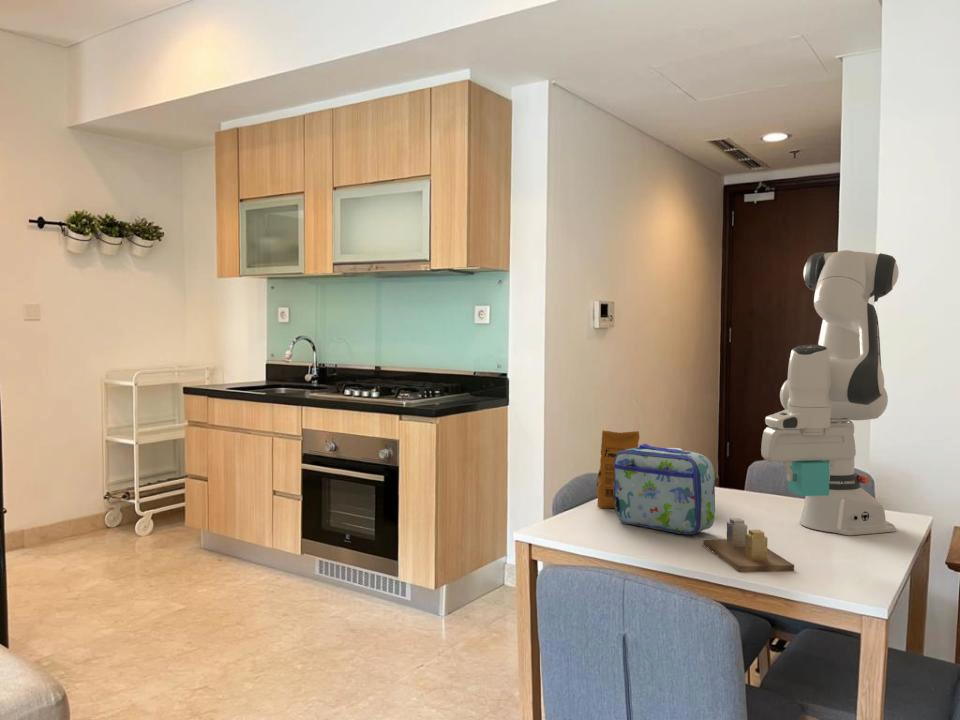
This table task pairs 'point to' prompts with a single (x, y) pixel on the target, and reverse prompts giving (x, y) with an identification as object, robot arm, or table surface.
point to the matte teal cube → (810, 478)
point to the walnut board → (742, 563)
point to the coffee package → (612, 463)
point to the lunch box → (664, 489)
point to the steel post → (736, 532)
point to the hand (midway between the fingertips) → (808, 480)
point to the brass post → (756, 545)
